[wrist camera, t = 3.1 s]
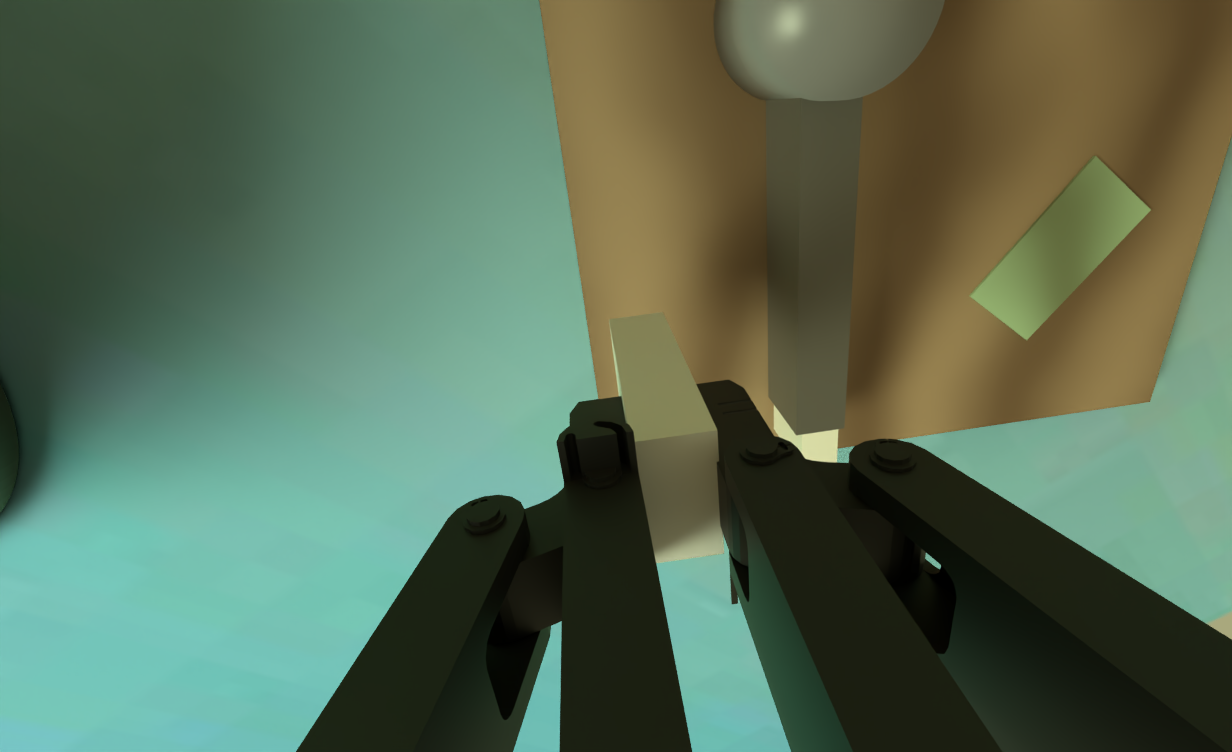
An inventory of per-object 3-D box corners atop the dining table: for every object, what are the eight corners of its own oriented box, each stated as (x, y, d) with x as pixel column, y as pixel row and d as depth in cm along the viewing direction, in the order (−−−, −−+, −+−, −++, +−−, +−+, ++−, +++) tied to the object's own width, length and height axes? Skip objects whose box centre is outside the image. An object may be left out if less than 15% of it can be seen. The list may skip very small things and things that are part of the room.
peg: (709, -67, 16) (753, -121, 12) (869, -87, 16) (961, -147, 12) (730, 430, 22) (762, 493, 19) (842, 414, 22) (897, 473, 19)
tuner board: (608, 465, 24) (611, 483, 23) (529, -68, 16) (527, -82, 15) (1123, 388, 24) (1152, 403, 23) (1278, -161, 17) (1332, -181, 16)
